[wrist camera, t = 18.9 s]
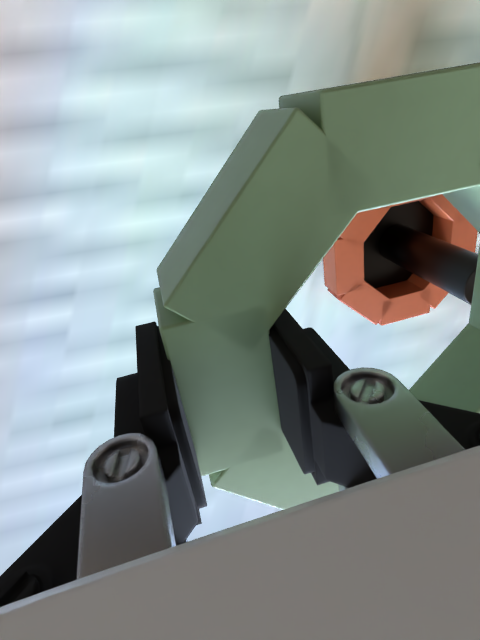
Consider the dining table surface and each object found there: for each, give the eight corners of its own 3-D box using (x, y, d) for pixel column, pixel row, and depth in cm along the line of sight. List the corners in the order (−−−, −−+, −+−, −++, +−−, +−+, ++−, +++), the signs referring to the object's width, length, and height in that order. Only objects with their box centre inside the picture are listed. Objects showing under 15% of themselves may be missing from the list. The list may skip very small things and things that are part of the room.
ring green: (210, 501, 15) (224, 564, 13) (108, 125, 9) (102, 126, 7) (505, 407, 16) (560, 448, 14) (581, 45, 11) (693, 26, 9)
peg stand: (346, 291, 36) (423, 353, 27) (344, 201, 32) (433, 235, 23) (426, 272, 37) (528, 324, 28) (433, 183, 34) (553, 207, 24)
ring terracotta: (327, 324, 36) (339, 337, 34) (317, 182, 30) (331, 186, 28) (450, 291, 38) (469, 301, 36) (464, 150, 32) (487, 152, 30)
